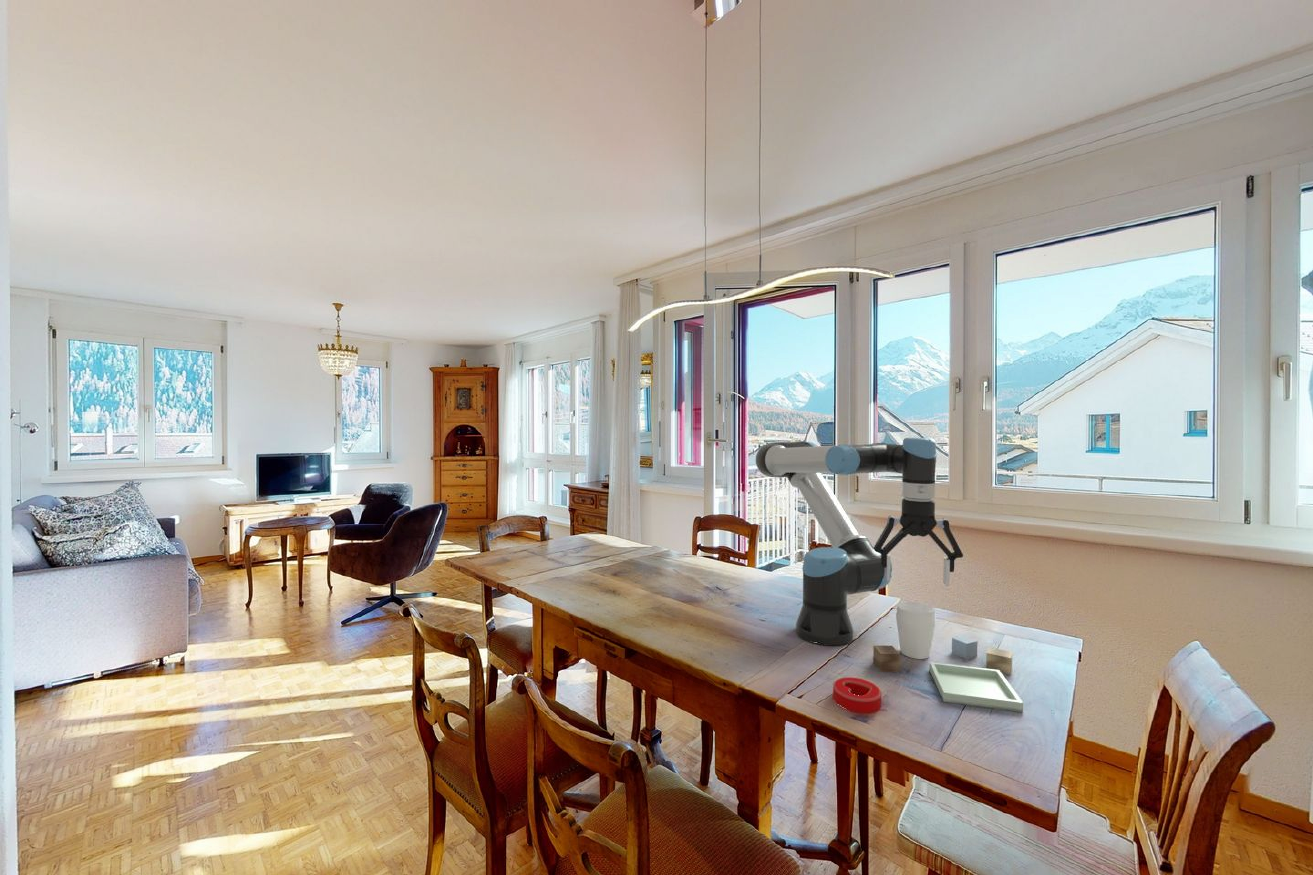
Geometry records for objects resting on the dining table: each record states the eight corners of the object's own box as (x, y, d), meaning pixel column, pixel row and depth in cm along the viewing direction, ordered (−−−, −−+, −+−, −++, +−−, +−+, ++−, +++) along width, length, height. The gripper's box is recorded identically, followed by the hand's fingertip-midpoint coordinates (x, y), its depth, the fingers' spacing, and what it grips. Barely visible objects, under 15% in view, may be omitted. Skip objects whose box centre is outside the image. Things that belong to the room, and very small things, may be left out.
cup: (939, 663, 131) (940, 615, 130) (900, 659, 133) (901, 612, 132) (928, 647, 140) (929, 602, 139) (891, 644, 142) (892, 600, 141)
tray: (943, 701, 113) (943, 692, 113) (929, 670, 127) (929, 661, 127) (1022, 712, 109) (1023, 702, 109) (999, 678, 123) (999, 669, 123)
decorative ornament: (891, 707, 112) (891, 692, 112) (858, 719, 107) (858, 704, 107) (855, 686, 120) (855, 672, 120) (823, 696, 116) (823, 682, 116)
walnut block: (880, 672, 127) (880, 653, 126) (873, 663, 131) (873, 645, 131) (899, 672, 127) (899, 653, 126) (891, 663, 131) (892, 645, 131)
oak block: (986, 669, 128) (986, 652, 128) (987, 662, 131) (988, 646, 131) (1011, 674, 125) (1011, 658, 125) (1012, 668, 128) (1012, 652, 128)
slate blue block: (966, 659, 133) (966, 643, 133) (951, 652, 137) (952, 637, 137) (977, 656, 135) (977, 641, 134) (962, 650, 138) (962, 635, 138)
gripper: (866, 499, 134) (865, 582, 135) (978, 503, 128) (976, 591, 128) (863, 494, 142) (862, 573, 142) (969, 498, 135) (967, 581, 136)
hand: (916, 582), depth 135 cm, fingers open, 13 cm apart
